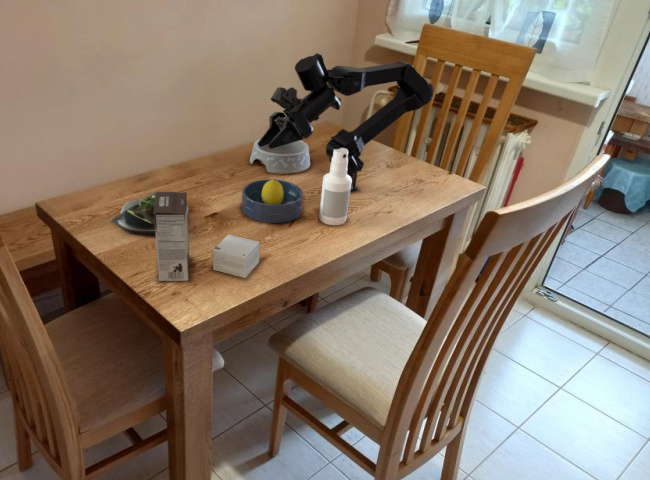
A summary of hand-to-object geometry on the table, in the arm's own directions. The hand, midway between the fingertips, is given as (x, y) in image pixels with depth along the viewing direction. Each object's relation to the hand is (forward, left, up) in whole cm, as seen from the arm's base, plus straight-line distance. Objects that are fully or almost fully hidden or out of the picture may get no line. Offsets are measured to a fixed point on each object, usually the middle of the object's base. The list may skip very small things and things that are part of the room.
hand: (263, 146), depth 141 cm
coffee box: (+30, +23, -16) cm, 41 cm away
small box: (+17, +26, -16) cm, 34 cm away
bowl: (-1, +4, -16) cm, 16 cm away
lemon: (-1, +4, -16) cm, 16 cm away
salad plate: (+29, 0, -16) cm, 33 cm away
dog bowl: (-16, -24, -16) cm, 33 cm away
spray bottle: (-14, +13, -16) cm, 25 cm away
